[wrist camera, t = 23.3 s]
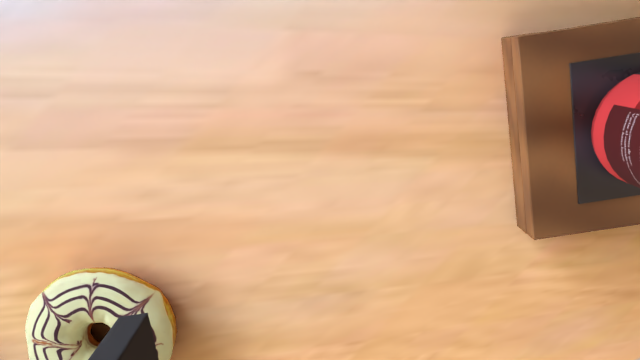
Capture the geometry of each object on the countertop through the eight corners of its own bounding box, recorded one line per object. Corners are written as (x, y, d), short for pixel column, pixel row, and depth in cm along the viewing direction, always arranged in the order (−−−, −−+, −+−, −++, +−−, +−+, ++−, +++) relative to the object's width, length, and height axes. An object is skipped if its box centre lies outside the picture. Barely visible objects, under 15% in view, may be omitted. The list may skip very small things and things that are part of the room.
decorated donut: (182, 385, 47) (171, 413, 44) (46, 382, 47) (24, 411, 44) (178, 262, 45) (166, 281, 41) (36, 259, 45) (12, 278, 41)
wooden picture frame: (501, 37, 42) (518, 36, 38) (728, 2, 42) (768, -3, 38) (517, 225, 45) (535, 241, 41) (729, 194, 44) (766, 206, 41)
